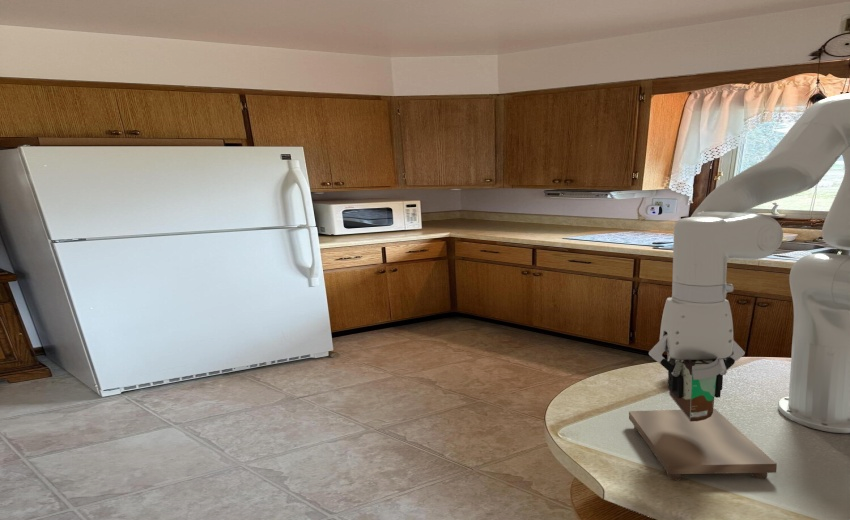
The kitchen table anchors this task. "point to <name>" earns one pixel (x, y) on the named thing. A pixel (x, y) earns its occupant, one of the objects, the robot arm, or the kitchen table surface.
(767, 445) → the kitchen table surface
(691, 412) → the food container
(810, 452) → the kitchen table surface
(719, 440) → the tan square plate
